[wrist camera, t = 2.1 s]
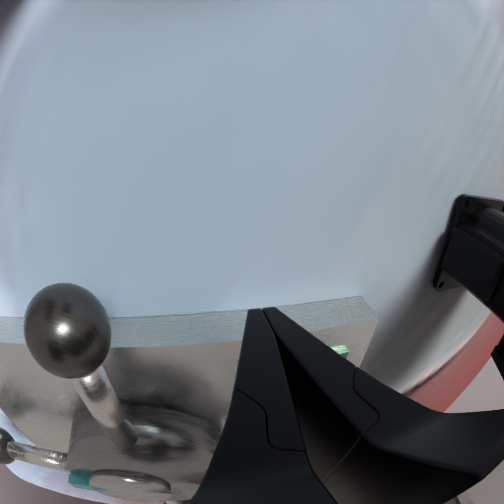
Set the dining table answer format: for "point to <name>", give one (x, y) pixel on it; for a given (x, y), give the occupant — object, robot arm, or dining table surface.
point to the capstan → (108, 411)
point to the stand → (162, 364)
